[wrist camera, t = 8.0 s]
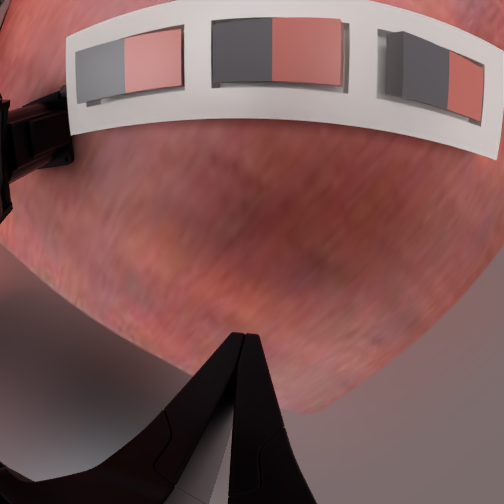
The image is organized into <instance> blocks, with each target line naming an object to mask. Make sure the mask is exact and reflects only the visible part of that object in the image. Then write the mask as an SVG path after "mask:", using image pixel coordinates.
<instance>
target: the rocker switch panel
mask: <svg viewBox="0 0 504 504" xmlns="http://www.w3.org/2000/svg"><path fill="white" fill-rule="evenodd" d="M289 17H312V18H335V19H341V21H342V24H343V26H344V67H343V87H338V86H329V85H318V84H304V83H283V82H239V83H213V25H214V24H220V23H227V22H235V21H243V20H253V19H266V18H289ZM177 29H181V30H182V31H183V32H184V72H185V86H179V87H170V88H162V89H154V90H147V91H141V92H135V93H129V94H124V95H118V96H113V97H109V98H104V99H100V100H95V101H91V102H87V103H81V104H77V95H76V72H75V52H77V51H80V50H83V49H86V48H90V47H93V46H96V45H100V44H104V43H107V42H111V41H115V40H120V39H124V38H129V37H133V36H138V35H144V34H149V33H155V32H162V31H169V30H177ZM400 31H405V32H407V33H410V34H413V35H415V36H418V37H420V38H423V39H425V40H427V41H430V42H432V43H434V44H436V45H439V46H441V47H443V48H445V49H447V50H449V51H451V52H453V53H455V54H457V55H459V56H461V57H463V58H465V59H467V60H469V61H470V62H472V63H474V64H476V65H477V66H479V67H481V68H483V95H482V109H481V119H480V121H477V120H474V119H471V118H467V117H464V116H461V115H458V114H456V113H453V112H450V111H447V110H444V109H440V108H437V107H434V106H431V105H427V104H424V103H420V102H417V101H413V100H409V99H405V98H401V97H397V96H392V95H388V94H385V84H386V34H388V33H394V32H400ZM60 93H61V95H62V96H63V97H66V96H67V103H68V115H69V125H70V133H71V135H76V134H81V133H86V132H91V131H97V130H103V129H109V128H115V127H122V126H129V125H137V124H145V123H154V122H165V121H177V120H193V119H220V118H258V119H284V120H300V121H313V122H324V123H333V124H342V125H349V126H357V127H364V128H370V129H376V130H382V131H388V132H393V133H398V134H403V135H408V136H413V137H417V138H422V139H426V140H430V141H434V142H438V143H442V144H446V145H450V146H453V147H457V148H460V149H464V150H467V151H470V152H473V153H477V154H480V155H483V156H486V157H489V158H491V159H494V160H497V155H498V149H499V143H500V136H501V128H502V119H503V108H504V51H503V50H501V49H499V48H497V47H495V46H494V45H492V44H490V43H488V42H486V41H484V40H482V39H480V38H478V37H476V36H474V35H472V34H470V33H468V32H465V31H463V30H461V29H458V28H456V27H454V26H451V25H449V24H446V23H444V22H441V21H439V20H436V19H433V18H430V17H427V16H425V15H421V14H418V13H415V12H412V11H409V10H405V9H402V8H398V7H394V6H390V5H386V4H382V3H378V2H373V1H368V0H177V1H173V2H168V3H163V4H159V5H155V6H151V7H147V8H144V9H140V10H137V11H133V12H130V13H127V14H123V15H120V16H117V17H114V18H112V19H109V20H106V21H103V22H101V23H98V24H95V25H93V26H90V27H88V28H86V29H83V30H81V31H79V32H76V33H74V34H72V35H70V36H68V37H66V85H63V86H62V87H61V89H60Z"/></svg>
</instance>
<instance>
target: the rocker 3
mask: <svg viewBox="0 0 504 504" xmlns="http://www.w3.org/2000/svg"><path fill="white" fill-rule="evenodd" d="M385 94H388V95H392V96H397V97H401V98H405V99H409V100H413V101H417V102H420V103H424V104H427V105H431V106H434V107H437V108H440V109H444V110H447V111H450V112H453V113H456V114H458V115H461V116H464V117H467V118H471V119H474V120H477V121H480V119H481V109H482V95H483V68H481V67H479V66H477V65H476V64H474V63H472V62H470V61H469V60H467V59H465V58H463V57H461V56H459V55H457V54H455V53H453V52H451V51H449V50H447V49H445V48H443V47H441V46H439V45H436V44H434V43H432V42H430V41H427V40H425V39H423V38H420V37H418V36H415V35H413V34H410V33H407V32H405V31H400V32H394V33H388V34H386V84H385Z"/></svg>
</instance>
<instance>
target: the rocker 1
mask: <svg viewBox="0 0 504 504" xmlns="http://www.w3.org/2000/svg"><path fill="white" fill-rule="evenodd" d="M75 72H76V95H77V104H81V103H87V102H91V101H95V100H100V99H104V98H109V97H113V96H118V95H124V94H129V93H135V92H141V91H147V90H154V89H162V88H170V87H179V86H185V72H184V32H183V31H182V30H181V29H177V30H169V31H162V32H155V33H149V34H144V35H138V36H133V37H129V38H124V39H120V40H115V41H111V42H107V43H104V44H100V45H96V46H93V47H90V48H86V49H83V50H80V51H77V52H75Z"/></svg>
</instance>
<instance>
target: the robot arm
mask: <svg viewBox="0 0 504 504" xmlns="http://www.w3.org/2000/svg"><path fill="white" fill-rule="evenodd" d="M9 107H10V100H2V97H1V94H0V224H1V223H2V221H3V220H4V219H5V218H6V216H7V215H8V214H9V213H10V212H11V211H12V209H13V207H12V202H11V198H10V188H9V184H11V183H12V182H14V181H16V180H18V179H19V178H21V177H23V176H25V175H27V174H29V173H31V172H33V171H35V170H37V169H43V168H49V167H56V166H63V165H68V164H71V163H72V162H73V160H74V156H73V149H72V142H71V134H70V126H69V116H68V105H67V96H66V97H63V96H62V97H61V93H60V91H58V92H55V93H53V94H50V95H47V96H45V97H43V98H40V99H38V100H35V101H33V102H31V103H29V104H26V105H24V106H22V108H19V109H15V110H12V111H8V109H9ZM68 158H69V160H68ZM164 410H165V411H164ZM164 410H162V411H161V412H160V414H158V415H157V417H156V418H155V419H154V420H153V421H152V422H151V423H150V424H149V425H148V426H147V427H146V428H145V429H144V430H142V431H141V432H140V433H139V434H138V435H137V436H136V437H134V438H133V439H132V440H131V441H130V442H128V443H127V444H126V445H125V446H123V447H122V448H121V449H119V450H118V451H117V452H116V453H114V454H113V455H112V456H110V457H109V458H108V459H106V460H105V461H104V462H102V463H101V464H100V465H98V466H96V467H94V468H92V469H89V470H87V471H84V472H80V473H76V474H72V475H68V476H63V477H59V478H54V479H49V480H44V481H38V482H34V481H32V480H30V479H28V478H27V477H25V476H23V475H21V474H19V473H18V472H16V471H14V470H12V469H10V468H8V467H7V466H6V465H4V464H3V463H2V462H0V504H209V501H210V498H211V495H212V492H213V488H214V485H215V482H216V479H217V476H218V472H219V469H220V466H221V463H222V459H223V456H224V453H225V449H226V446H227V442H228V439H229V436H230V432H231V429H232V426H233V429H232V444H231V461H230V476H229V492H228V496H229V498H228V504H317V503H316V501H315V499H314V496H313V494H312V492H311V491H310V489H309V487H308V484H307V483H306V480H305V478H304V477H303V474H302V472H301V470H300V468H299V466H298V463H297V461H296V459H295V456H294V454H293V451H292V448H291V446H290V442H289V439H288V436H287V432H286V429H285V428H284V422H283V419H282V416H281V412H280V408H279V405H278V401H277V398H276V394H275V391H274V387H273V383H272V380H271V376H270V373H269V369H268V366H267V362H266V358H265V355H264V351H263V347H262V344H261V340H260V337H259V335H258V334H250V333H247V334H246V335H245V334H244V333H238V332H232V333H231V334H230V335H229V336H228V337H227V338H226V339H225V341H224V342H223V343H222V344H221V345H220V346H219V348H218V349H217V350H216V351H215V352H214V353H213V354H212V356H211V357H210V358H209V359H208V360H207V361H206V362H205V364H204V365H203V366H202V367H201V368H200V369H199V370H198V371H197V373H196V374H195V375H194V376H193V377H192V378H191V379H190V380H189V382H188V383H187V384H186V385H185V386H184V387H183V388H182V389H181V391H180V392H179V393H178V394H177V395H176V396H175V397H174V398H173V399H172V400H171V402H170V403H169V404H168V405H167V406H166V407H165V408H164Z"/></svg>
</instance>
